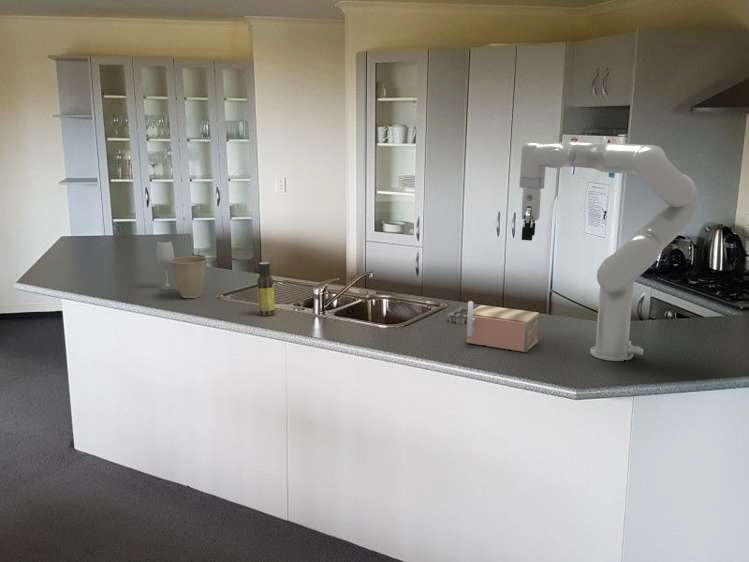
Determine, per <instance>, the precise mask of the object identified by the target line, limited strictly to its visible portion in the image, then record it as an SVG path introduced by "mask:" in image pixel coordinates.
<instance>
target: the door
mask: <svg viewBox="0 0 749 562" xmlns="http://www.w3.org/2000/svg"><path fill="white" fill-rule="evenodd" d="M467 309H468V315H467V322H466V343H467V344H473V345H480V346H484V345H485V347H492V348H498V349H504V350H509V349H510V350H511V351H516V352H522V353H527V352H528V351H527V337H528V323H523V322H515V321H508V320H501V319H494V318H487V317H479V316H473V310H474V301H472V300H470V301H468V302H467Z"/></svg>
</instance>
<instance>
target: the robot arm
mask: <svg viewBox="0 0 749 562" xmlns="http://www.w3.org/2000/svg"><path fill="white" fill-rule="evenodd" d="M666 156H667V155H666V153H665V150H663V149H662V147H660V146H658V145H655V144H654V145H653V144H637V143H635V144H633V143H617V142H615V143H612V142H602V143H590V142H572V141H571V142H568V141H567V142H566V141H561V142H556V143H544V142H531V141H530V142H525V143H523V144H522V147H521V157H520V171H519V172H520V174H519V185H518V186H519V188H520V189H522V200H521V201H522V202H521V219H522V220H523V223H522V229H521V240H522V241H532V240H533V236H535V234H536V222H537V221H538V220H539V219H540V211H541V210H540V208H541V190H542V189H545V182H546V181H545V179H546V169H547V168H550V169H562V168H565V167H567V168H569V167H570V168H586V169H593V170H597V171H599V172H601V173H602V172H603V173H609V174H612V173H613V174H629V175H637V176H638V177H639V178H640V179H641V180H642V181H643V182H644V184H645V185H647V187H648V188H650V190H652V192H653V193H654V194H655V195H656V196H657V197H658V198H659V199H660V200H661V201H662V202H663V203H664V205H663V207H662V208H661V209H660V211H658V212H657V213H656V214H655V215H654V216H653V217H652V218H651V219H650V220H649V221H648V222H647V223H646V224H645V225H644V226H642V227H641V228H640V229H639V230H637V231H636V232H634V233H633V234H632V235H630V237H629V238H628V240H627V241H626V242H624V243H623V245H622V246H620V247H619V248H618V249H617V250H616V251H615V252H614V253H612V254H611V255H609V256H607V257H606V258H605V259H603V261H602V262H601V263H600V266H599V267H598V269H597V272H596V280H597V283H598V285H599V287H600V288H599V296H598V307H597V320H596V321H597V322H596V323H597V324H596V338H595V346H592V347H591V348H590V350H589V354H590V355H591V356H592V357H594V358H597V359H599V360H604V361H610V362H624V360H626V361H629V360H631V359H633V358H634V354H635V355H638V356H639V355H640V356H643V354H644V348H641V346H638V345H637V346H636V345H633V344H632V340H630V330H631V318H632V317H631V315H632V304H633V295H634V294H633V293H634V292H633V291H634V284H635V281H636V280H637V279H638V278H639V277H640V276H641V275H642V274H644V273H645V272H646V271H647V270H648V269H649V268H650V267H651V266H653V264H654V263H655V262H656V261H658V258H659V257H660V256H661V253H662V251H663V250H664V249H665V248H667V246H668V245H669V244H670V243H671V242H673V240H675V239H676V238H677V237H678V236H679V235H680V234H681V233H682V232H683V231H684V230H685V229H686V228H687V227H688V225H690V224H691V222H692V221H693V218H695V217H694V216H695V214H696V212H697V208H698V205H699V196H698V195H699V194H698V190H697V185H696V184H695V182H694V179H692V178H691V177H690V176H688V175H687V174H682V173H681V171H680V170H679V169H677V167H676V166H675V165H674V164H673V163H672V162H671V161H670V160H669V159H668V158H667V157H666Z"/></svg>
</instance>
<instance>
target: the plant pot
mask: <svg viewBox="0 0 749 562" xmlns="http://www.w3.org/2000/svg"><path fill="white" fill-rule="evenodd" d="M170 263H171V265H170V266H171V270H172V271H171V273H172V276H173V279H174V282H175V284H176V289H177V290H178V292H179V294H180V295H179V296H186V297H190V296H198V295H200V294H202V291H203V287H204V284H205V280H206V274H207V267H208V266H207V265H208V258H207V257H203V256H182V257H181V256H180V257H174V259H172V260H170ZM200 296H201V295H200Z"/></svg>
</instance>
